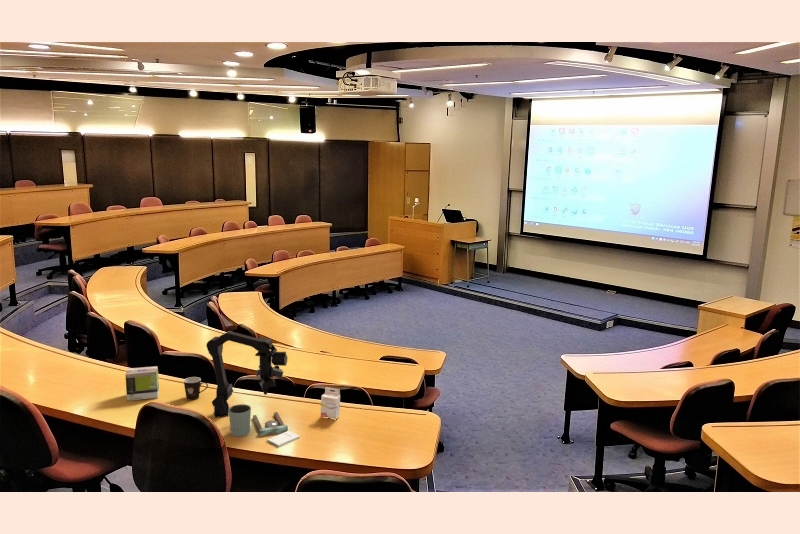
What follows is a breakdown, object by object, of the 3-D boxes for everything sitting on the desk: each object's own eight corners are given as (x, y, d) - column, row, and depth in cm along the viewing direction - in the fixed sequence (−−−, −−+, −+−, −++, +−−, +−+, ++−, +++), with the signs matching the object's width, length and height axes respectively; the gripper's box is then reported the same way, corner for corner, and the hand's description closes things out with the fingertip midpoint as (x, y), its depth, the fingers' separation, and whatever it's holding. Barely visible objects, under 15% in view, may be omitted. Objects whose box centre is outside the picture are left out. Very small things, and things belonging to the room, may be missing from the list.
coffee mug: (180, 399, 300) (179, 381, 298) (192, 393, 308) (191, 375, 306) (198, 403, 295) (197, 385, 294) (209, 397, 303) (208, 379, 302)
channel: (259, 436, 262) (259, 431, 262) (252, 418, 280) (251, 413, 280) (287, 431, 268) (287, 426, 267) (278, 414, 285) (278, 409, 285)
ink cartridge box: (320, 418, 283) (320, 390, 281) (324, 414, 288) (324, 386, 285) (336, 420, 281) (336, 392, 279) (340, 416, 286) (340, 389, 283)
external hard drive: (267, 442, 258) (288, 433, 267) (278, 448, 253) (299, 438, 262) (267, 439, 258) (288, 430, 267) (278, 445, 252) (299, 435, 262)
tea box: (159, 391, 309) (158, 365, 306) (157, 398, 300) (156, 372, 297) (129, 393, 304) (127, 367, 302) (126, 401, 295) (125, 374, 292)
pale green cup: (239, 439, 258) (238, 415, 256) (224, 433, 263) (223, 409, 261) (255, 431, 267) (255, 407, 265) (240, 425, 272) (240, 402, 270)
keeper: (266, 433, 266) (266, 427, 265) (263, 427, 271) (263, 421, 271) (279, 430, 269) (279, 424, 268) (276, 425, 274) (276, 419, 273)
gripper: (286, 368, 272) (286, 399, 275) (277, 356, 289) (277, 385, 292) (262, 371, 268) (262, 402, 270) (255, 358, 285) (255, 388, 287)
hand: (265, 394), depth 280 cm, fingers closed
